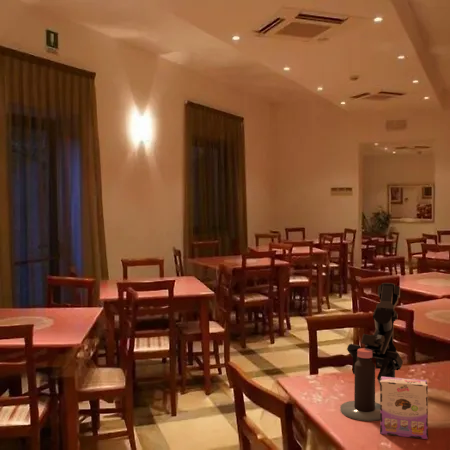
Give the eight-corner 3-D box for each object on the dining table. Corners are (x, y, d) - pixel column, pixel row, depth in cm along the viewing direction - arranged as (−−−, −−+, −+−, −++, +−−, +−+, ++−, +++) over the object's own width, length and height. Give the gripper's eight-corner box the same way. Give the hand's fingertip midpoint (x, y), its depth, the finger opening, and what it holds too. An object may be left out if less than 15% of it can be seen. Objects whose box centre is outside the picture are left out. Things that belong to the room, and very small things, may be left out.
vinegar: (363, 413, 177) (364, 353, 176) (350, 407, 183) (350, 349, 182) (379, 410, 180) (379, 351, 179) (365, 403, 186) (365, 346, 185)
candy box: (427, 432, 164) (427, 379, 164) (428, 440, 159) (428, 385, 158) (380, 426, 169) (380, 375, 168) (379, 434, 163) (379, 380, 163)
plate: (339, 402, 190) (339, 399, 190) (385, 404, 188) (385, 401, 188) (341, 419, 174) (341, 416, 174) (392, 422, 172) (392, 419, 172)
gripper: (349, 321, 191) (332, 358, 184) (398, 329, 178) (383, 369, 171) (360, 338, 197) (344, 375, 190) (409, 347, 184) (394, 387, 177)
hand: (365, 376), depth 181 cm, fingers open, 9 cm apart
